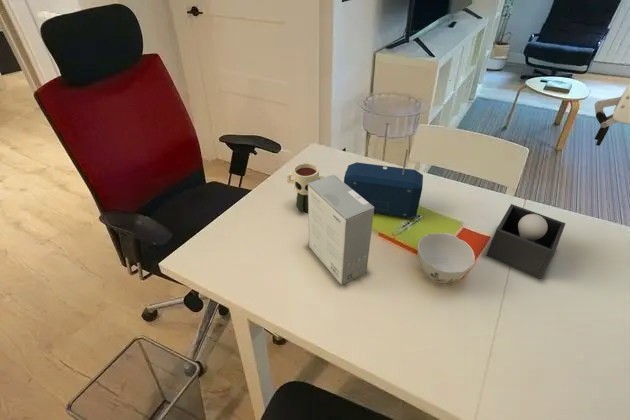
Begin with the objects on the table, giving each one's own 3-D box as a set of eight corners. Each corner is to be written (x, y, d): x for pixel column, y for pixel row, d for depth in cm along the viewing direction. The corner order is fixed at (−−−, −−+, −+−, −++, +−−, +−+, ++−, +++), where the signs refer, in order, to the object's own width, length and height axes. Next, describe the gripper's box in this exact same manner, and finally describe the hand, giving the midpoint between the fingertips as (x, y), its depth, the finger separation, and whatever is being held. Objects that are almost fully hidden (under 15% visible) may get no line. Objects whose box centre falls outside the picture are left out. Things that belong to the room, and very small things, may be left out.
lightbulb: (536, 261, 91) (554, 227, 84) (509, 256, 92) (525, 223, 85) (532, 244, 96) (548, 211, 89) (506, 240, 97) (521, 207, 90)
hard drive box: (367, 273, 89) (376, 208, 77) (341, 286, 86) (345, 220, 74) (332, 235, 100) (334, 173, 87) (307, 246, 96) (306, 182, 84)
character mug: (285, 212, 108) (283, 174, 99) (292, 197, 113) (290, 160, 105) (322, 216, 106) (323, 178, 98) (327, 202, 111) (328, 164, 103)
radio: (416, 203, 110) (429, 143, 98) (415, 221, 104) (428, 159, 91) (347, 193, 115) (351, 134, 102) (341, 210, 108) (345, 149, 95)
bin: (551, 249, 95) (565, 223, 90) (539, 279, 88) (554, 252, 82) (500, 229, 101) (511, 203, 96) (485, 255, 94) (496, 229, 88)
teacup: (463, 302, 82) (472, 278, 77) (407, 285, 86) (412, 261, 81) (469, 257, 93) (478, 233, 88) (419, 243, 97) (425, 220, 92)
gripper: (734, 71, 66) (676, 155, 77) (619, 53, 74) (581, 132, 85) (738, 83, 61) (676, 171, 72) (615, 63, 69) (575, 144, 80)
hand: (624, 149), depth 78 cm, fingers open, 9 cm apart
